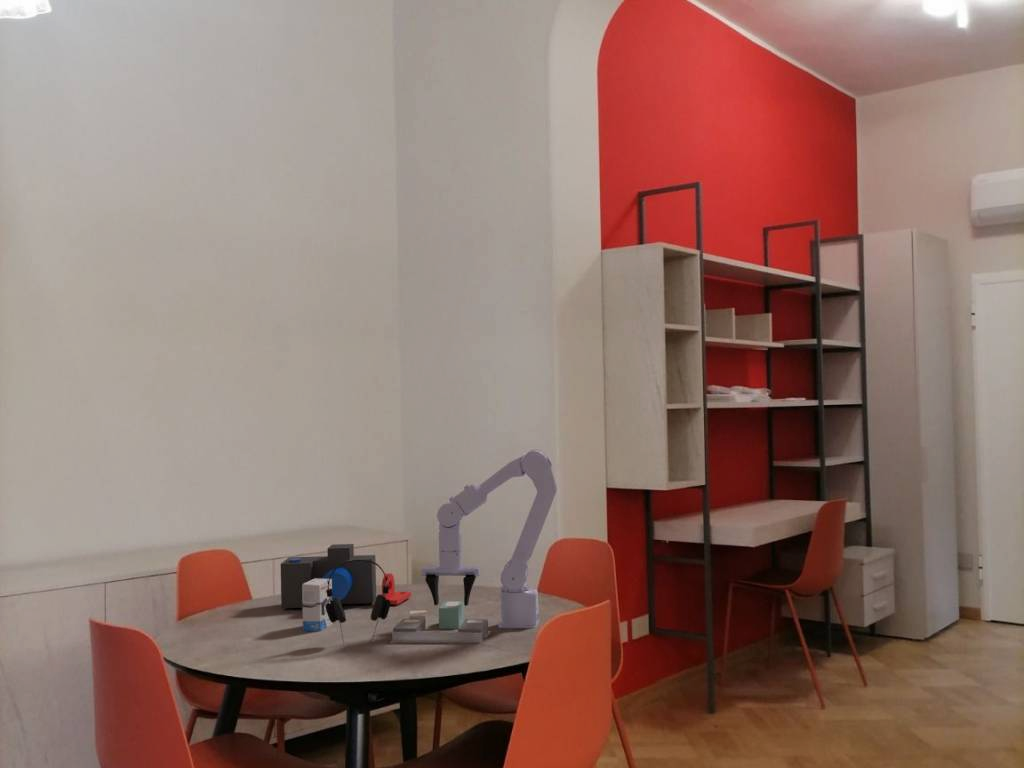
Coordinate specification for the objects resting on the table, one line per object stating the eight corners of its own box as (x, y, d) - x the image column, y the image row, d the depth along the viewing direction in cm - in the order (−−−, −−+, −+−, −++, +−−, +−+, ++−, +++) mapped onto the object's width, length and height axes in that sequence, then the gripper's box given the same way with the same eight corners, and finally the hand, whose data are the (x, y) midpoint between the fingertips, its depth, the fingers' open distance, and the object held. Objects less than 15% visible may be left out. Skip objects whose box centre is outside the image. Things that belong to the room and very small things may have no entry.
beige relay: (426, 626, 237) (426, 610, 237) (426, 632, 231) (425, 615, 231) (410, 626, 237) (410, 611, 237) (409, 632, 231) (409, 616, 231)
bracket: (397, 604, 264) (396, 576, 264) (382, 604, 265) (381, 575, 265) (412, 595, 275) (411, 568, 275) (397, 595, 276) (397, 568, 276)
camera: (276, 612, 257) (275, 554, 257) (290, 600, 273) (289, 545, 273) (368, 610, 257) (367, 552, 257) (376, 597, 273) (375, 543, 273)
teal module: (464, 623, 240) (464, 601, 240) (459, 630, 232) (458, 607, 232) (445, 622, 240) (445, 600, 240) (439, 630, 232) (438, 607, 232)
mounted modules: (488, 632, 227) (487, 619, 227) (481, 642, 217) (481, 628, 217) (403, 631, 229) (403, 618, 230) (393, 641, 220) (393, 627, 220)
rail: (481, 642, 217) (481, 631, 217) (480, 643, 216) (480, 632, 216) (393, 641, 220) (393, 630, 220) (392, 642, 219) (391, 631, 219)
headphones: (390, 634, 229) (388, 552, 229) (392, 646, 217) (390, 560, 218) (327, 639, 226) (325, 555, 226) (325, 651, 215) (324, 563, 215)
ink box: (320, 632, 233) (319, 584, 233) (301, 631, 234) (300, 584, 234) (333, 624, 241) (332, 578, 242) (315, 623, 242) (314, 578, 242)
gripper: (481, 547, 239) (482, 601, 239) (425, 547, 241) (426, 600, 241) (476, 552, 232) (477, 607, 232) (419, 552, 234) (420, 606, 234)
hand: (451, 604), depth 236 cm, fingers open, 7 cm apart
